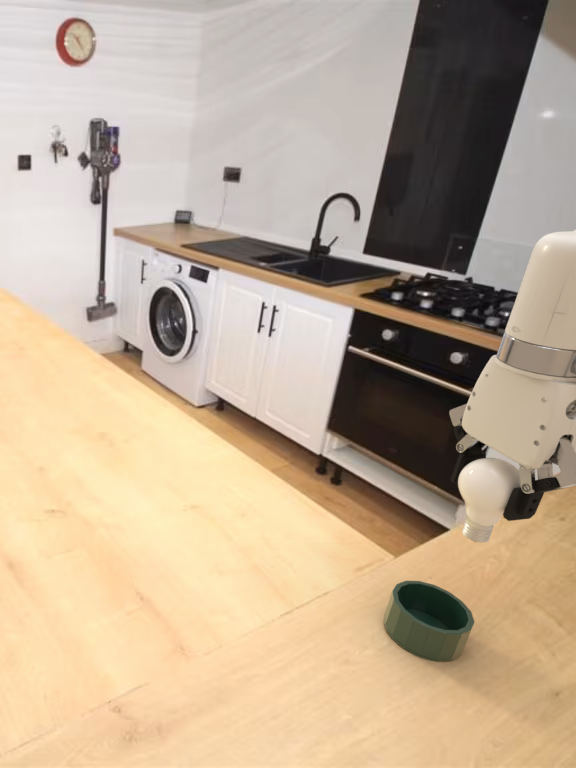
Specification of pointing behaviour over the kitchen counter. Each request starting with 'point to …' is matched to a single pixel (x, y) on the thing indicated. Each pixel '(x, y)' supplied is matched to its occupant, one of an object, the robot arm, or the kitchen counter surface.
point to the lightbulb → (486, 494)
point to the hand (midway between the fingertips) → (489, 498)
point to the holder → (428, 621)
